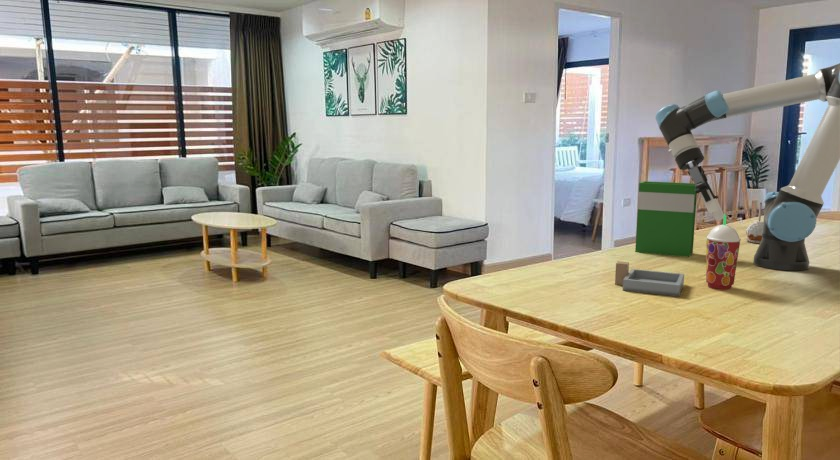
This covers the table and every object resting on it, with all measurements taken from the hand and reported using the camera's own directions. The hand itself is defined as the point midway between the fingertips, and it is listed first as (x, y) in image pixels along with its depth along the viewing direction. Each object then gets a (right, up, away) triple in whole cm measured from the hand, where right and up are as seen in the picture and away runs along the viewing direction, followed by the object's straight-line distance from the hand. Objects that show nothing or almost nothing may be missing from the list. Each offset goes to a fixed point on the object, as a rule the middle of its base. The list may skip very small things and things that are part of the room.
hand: (717, 216), depth 185 cm
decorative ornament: (+40, -9, +55) cm, 69 cm away
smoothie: (-4, -20, -10) cm, 23 cm away
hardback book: (-2, -12, +36) cm, 38 cm away
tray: (-24, -20, -10) cm, 32 cm away
